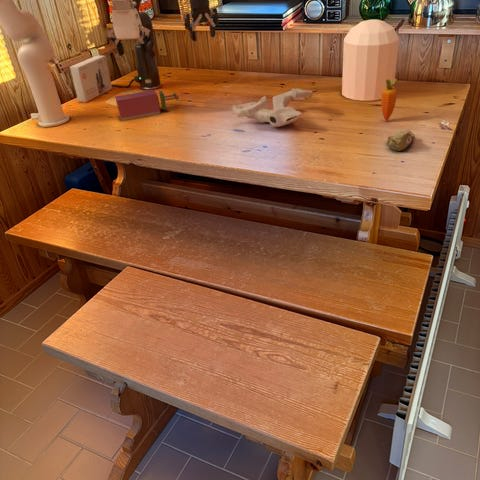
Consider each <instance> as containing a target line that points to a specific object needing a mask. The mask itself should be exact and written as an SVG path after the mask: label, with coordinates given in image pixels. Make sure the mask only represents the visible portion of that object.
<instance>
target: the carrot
mask: <svg viewBox="0 0 480 480" xmlns="http://www.w3.org/2000/svg"><path fill="white" fill-rule="evenodd" d="M397 81H398V78H395V80H394V82H393V84H391V82H390V79H386V83H387V85H386V87H387V88H386V89H384V90H383V91H382V98H381V99H380V101H381V102H380V104H381V112H382V113H381V114H382V117H383V119H384V120H385V121H386V122H388V121H389V119H390V118H391V117H392V114H393V112H394V109H395V106H396V101H397V96H398V95H397V94H398V91H397V89H395V85H396V83H397ZM389 85H390V86H389ZM391 85H392V86H391ZM393 86H394V88H393Z"/></svg>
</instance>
